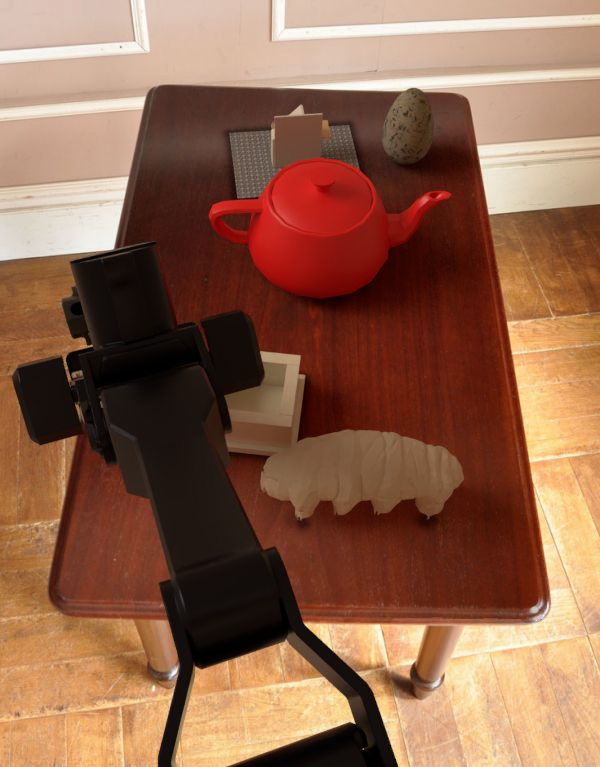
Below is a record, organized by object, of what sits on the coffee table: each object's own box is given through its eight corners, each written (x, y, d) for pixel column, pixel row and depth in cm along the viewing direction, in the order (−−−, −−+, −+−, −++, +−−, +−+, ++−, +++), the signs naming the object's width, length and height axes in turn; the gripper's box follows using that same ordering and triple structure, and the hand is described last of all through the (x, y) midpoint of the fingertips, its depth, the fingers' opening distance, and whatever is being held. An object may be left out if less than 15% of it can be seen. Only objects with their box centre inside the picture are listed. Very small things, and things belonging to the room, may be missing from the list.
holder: (295, 458, 81) (296, 432, 77) (201, 448, 82) (197, 421, 77) (305, 380, 86) (306, 351, 82) (216, 371, 86) (213, 341, 82)
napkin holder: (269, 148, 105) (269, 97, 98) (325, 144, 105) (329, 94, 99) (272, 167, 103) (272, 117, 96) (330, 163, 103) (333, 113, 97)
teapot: (211, 315, 90) (203, 234, 80) (213, 208, 99) (206, 123, 89) (446, 310, 91) (468, 231, 81) (428, 205, 100) (445, 121, 90)
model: (261, 468, 81) (260, 413, 72) (449, 469, 81) (469, 414, 73) (260, 533, 77) (258, 483, 69) (457, 534, 77) (479, 484, 69)
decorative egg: (387, 179, 102) (397, 111, 94) (372, 146, 105) (381, 77, 97) (434, 172, 103) (449, 103, 95) (418, 139, 106) (431, 70, 98)
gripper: (251, 248, 60) (216, 245, 75) (-20, 313, 56) (0, 295, 71) (285, 399, 63) (245, 366, 78) (28, 470, 59) (38, 421, 74)
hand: (135, 360), depth 75 cm, fingers closed on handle, 3 cm apart
